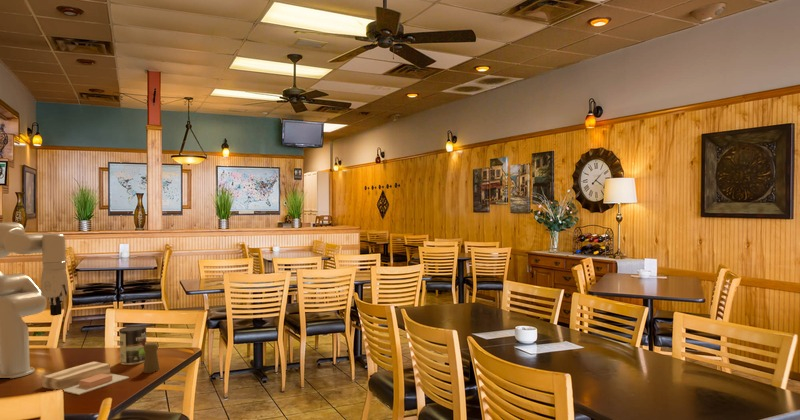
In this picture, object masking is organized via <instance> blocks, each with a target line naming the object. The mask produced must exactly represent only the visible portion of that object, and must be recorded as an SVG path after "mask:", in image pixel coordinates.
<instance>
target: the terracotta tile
mask: <svg viewBox="0 0 800 420" xmlns="http://www.w3.org/2000/svg"><path fill="white" fill-rule="evenodd" d="M110 381H113V379H112V375H108V374H103V373H101V374H98V375H95V376H92V377H89V378H85V379H82V380H79V386H82V387H87V388H92V387H95V386H98V385H101V384H104V383H107V382H110Z"/></svg>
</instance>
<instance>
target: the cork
mask: <svg viewBox="0 0 800 420" xmlns="http://www.w3.org/2000/svg"><path fill="white" fill-rule="evenodd" d="M158 349H159V345H158V343H157V342H146V344H145V345H144V351H145V360H144V362H143V368H142V369H143V370H142V372H143V373H145V374H152V373H151V372H153V373H156V372H155V371H157V372H159V371H160V364H159V363H160V362H159V357H158ZM158 370H159V371H158Z"/></svg>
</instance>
